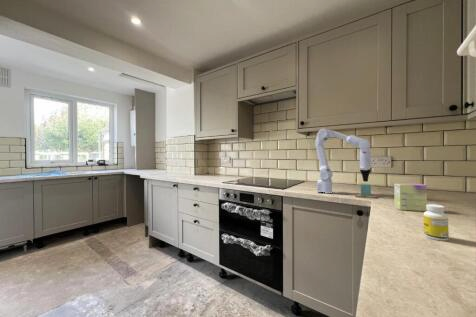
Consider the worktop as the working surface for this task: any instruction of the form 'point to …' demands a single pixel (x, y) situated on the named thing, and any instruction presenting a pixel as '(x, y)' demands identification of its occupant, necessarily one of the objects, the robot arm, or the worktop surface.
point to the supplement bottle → (436, 222)
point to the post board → (366, 196)
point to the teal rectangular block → (366, 189)
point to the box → (410, 196)
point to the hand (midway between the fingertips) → (365, 181)
